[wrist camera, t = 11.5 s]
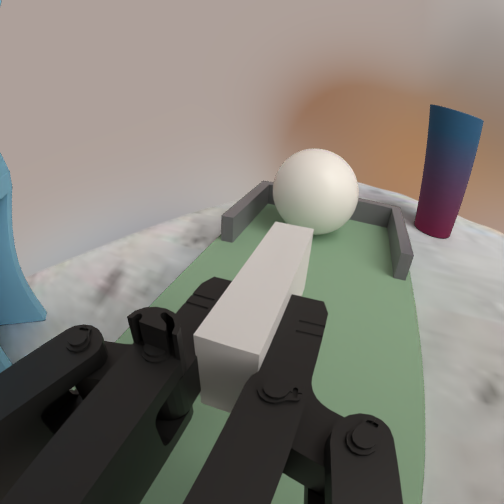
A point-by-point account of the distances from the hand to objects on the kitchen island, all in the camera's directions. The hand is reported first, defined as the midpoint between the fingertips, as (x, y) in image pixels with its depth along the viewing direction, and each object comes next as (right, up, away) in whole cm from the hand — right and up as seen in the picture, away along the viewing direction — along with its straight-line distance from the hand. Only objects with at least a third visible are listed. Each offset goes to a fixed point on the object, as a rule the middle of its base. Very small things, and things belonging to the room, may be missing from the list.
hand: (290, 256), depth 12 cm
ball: (+4, +5, +14) cm, 16 cm away
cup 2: (+21, +3, +22) cm, 31 cm away
